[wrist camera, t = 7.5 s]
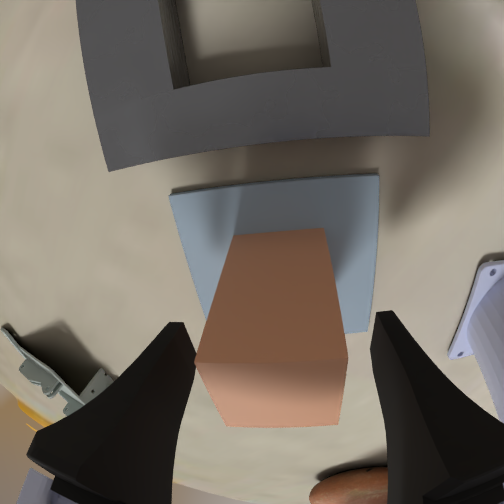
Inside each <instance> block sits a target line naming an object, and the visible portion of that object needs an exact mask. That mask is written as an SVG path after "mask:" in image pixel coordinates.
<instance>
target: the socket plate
mask: <svg viewBox="0 0 504 504" xmlns="http://www.w3.org/2000/svg"><path fill="white" fill-rule="evenodd" d="M312 5H313V10H314V15H315V20H316V26H317V32H318V37H319V43H320V50H321V56H322V63H323V67H322V68H305V69H293V70H282V71H273V72H265V73H257V74H250V75H243V76H237V77H231V78H226V79H220V80H215V81H210V82H205V83H200V84H196V85H191V86H190V82H189V76H188V71H187V65H186V60H185V54H184V49H183V43H182V38H181V32H180V26H179V20H178V14H177V8H176V2H175V0H76V9H77V19H78V28H79V36H80V43H81V50H82V56H83V63H84V69H85V74H86V80H87V85H88V90H89V95H90V100H91V104H92V109H93V113H94V118H95V122H96V126H97V130H98V134H99V138H100V142H101V146H102V150H103V153H104V157H105V161H106V164H107V168H108V171H109V172H111V171H115V170H119V169H123V168H127V167H131V166H135V165H140V164H144V163H149V162H153V161H158V160H163V159H168V158H173V157H178V156H183V155H189V154H194V153H200V152H206V151H212V150H218V149H225V148H232V147H239V146H246V145H254V144H262V143H271V142H281V141H291V140H302V139H315V138H331V137H352V136H430V128H429V98H428V83H427V72H426V62H425V54H424V46H423V39H422V33H421V27H420V21H419V16H418V11H417V6H416V1H415V0H312Z"/></svg>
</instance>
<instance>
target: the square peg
mask: <svg viewBox="0 0 504 504" xmlns="http://www.w3.org/2000/svg"><path fill="white" fill-rule="evenodd" d="M194 363H195V365H196V368H197V370H198V372H199V374H200V376H201V378H202V380H203V382H204V384H205V386H206V388H207V390H208V392H209V394H210V396H211V398H212V400H213V402H214V404H215V406H216V408H217V410H218V412H219V414H220V415H221V417H222V419H223V421H224V423H225V425H226V426H230V427H258V428H283V427H311V426H326V425H338V422H339V416H340V411H341V405H342V399H343V392H344V386H345V379H346V371H347V364H348V353H347V346H346V340H345V334H344V327H343V321H342V316H341V310H340V304H339V299H338V293H337V288H336V283H335V278H334V273H333V268H332V263H331V258H330V253H329V249H328V244H327V240H326V235H325V231H324V228H314V229H301V230H289V231H277V232H266V233H254V234H243V235H233V238H232V241H231V244H230V247H229V250H228V253H227V256H226V260H225V263H224V266H223V269H222V272H221V275H220V279H219V282H218V285H217V288H216V291H215V295H214V298H213V301H212V304H211V308H210V311H209V314H208V317H207V321H206V324H205V327H204V331H203V334H202V337H201V341H200V344H199V347H198V351H197V354H196V357H195V361H194Z"/></svg>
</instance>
